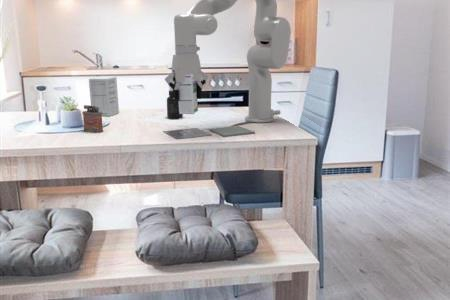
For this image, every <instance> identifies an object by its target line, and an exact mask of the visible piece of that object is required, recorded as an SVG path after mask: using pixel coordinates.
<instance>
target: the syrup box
mask: <svg viewBox="0 0 450 300" xmlns="http://www.w3.org/2000/svg"><path fill="white" fill-rule="evenodd" d="M178 90H179V99H180V100H179V114H183V115H195V113H197V112H198V111H199V104H198V101H199V100H198V98H197V83H196V82H194V76H193V74H186V75H185V81H184V83H180V85H179V87H178Z"/></svg>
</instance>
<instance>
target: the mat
mask: <svg viewBox="0 0 450 300" xmlns="http://www.w3.org/2000/svg"><path fill="white" fill-rule="evenodd" d="M208 131H209V132H211V133H214V134H216V135H219V136H221V137H223V138H226V137H227V138H228V137H235V136H245V135H252V134H256V131H253V130H251V129H249V128H246V127H242V126H240V125H231V126H223V127H214V128H213V127H211V128H208Z"/></svg>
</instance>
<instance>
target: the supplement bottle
mask: <svg viewBox="0 0 450 300" xmlns="http://www.w3.org/2000/svg"><path fill="white" fill-rule="evenodd" d="M166 116H167V119H168V120H180V119H179V118H181V119H183V116H184V114H179V101H176V100H175V99H174V97H173V89H170V90H168V97H167V98H166Z"/></svg>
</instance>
